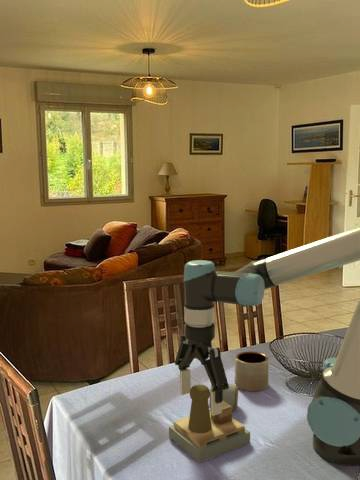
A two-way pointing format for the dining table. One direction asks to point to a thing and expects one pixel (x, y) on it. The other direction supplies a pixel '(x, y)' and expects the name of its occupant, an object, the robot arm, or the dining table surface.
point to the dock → (209, 444)
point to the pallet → (214, 433)
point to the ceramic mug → (229, 396)
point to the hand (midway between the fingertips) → (200, 403)
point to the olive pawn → (199, 409)
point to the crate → (223, 414)
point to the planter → (251, 371)
